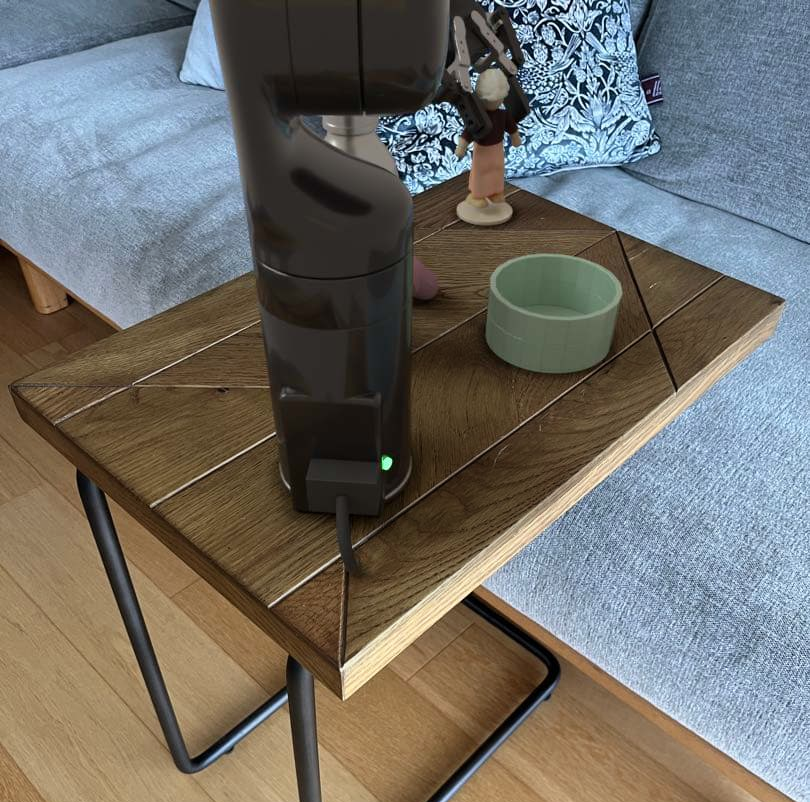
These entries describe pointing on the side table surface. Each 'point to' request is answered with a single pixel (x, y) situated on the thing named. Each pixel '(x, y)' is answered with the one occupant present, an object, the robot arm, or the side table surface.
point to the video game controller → (423, 281)
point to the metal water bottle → (359, 139)
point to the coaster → (485, 213)
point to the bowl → (552, 312)
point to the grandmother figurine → (489, 142)
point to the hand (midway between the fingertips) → (504, 125)
